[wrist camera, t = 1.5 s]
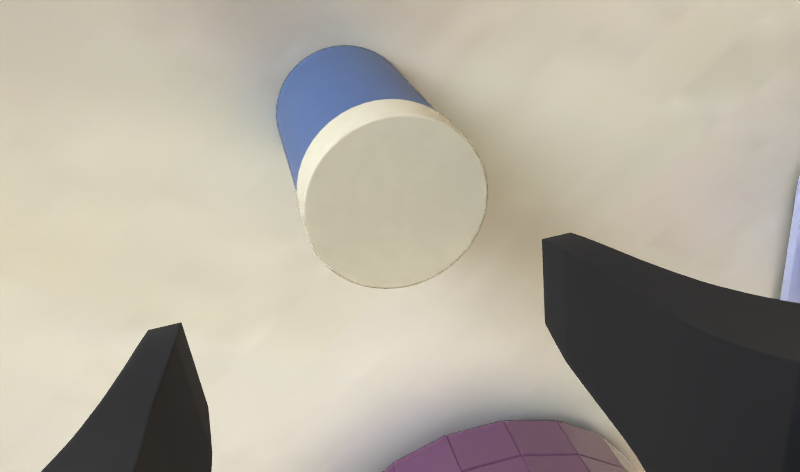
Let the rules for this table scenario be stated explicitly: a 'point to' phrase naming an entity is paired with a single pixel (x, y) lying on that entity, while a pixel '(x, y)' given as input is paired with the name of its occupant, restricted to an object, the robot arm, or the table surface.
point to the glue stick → (377, 170)
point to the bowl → (517, 450)
